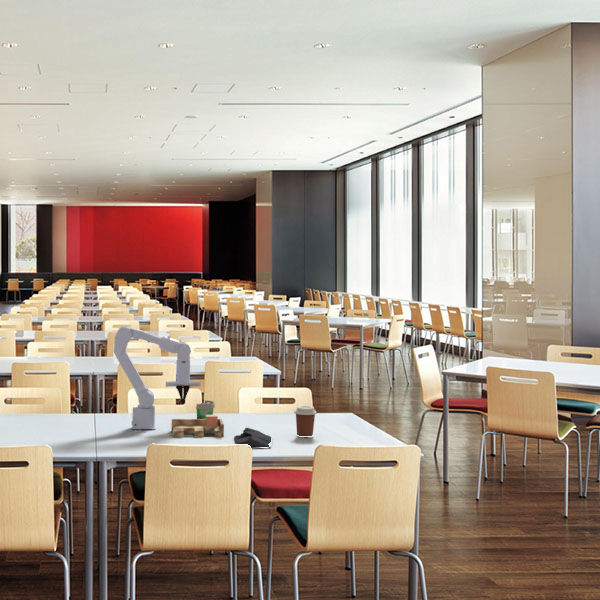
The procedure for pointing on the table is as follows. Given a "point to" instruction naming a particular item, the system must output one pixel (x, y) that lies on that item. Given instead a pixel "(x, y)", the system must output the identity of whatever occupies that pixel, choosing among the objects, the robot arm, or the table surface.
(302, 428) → the coffee cup
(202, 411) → the food container
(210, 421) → the clay-red block
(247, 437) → the dark slate chunk
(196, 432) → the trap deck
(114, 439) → the table surface
